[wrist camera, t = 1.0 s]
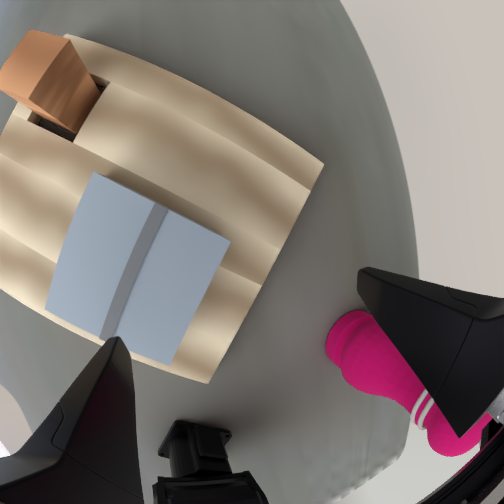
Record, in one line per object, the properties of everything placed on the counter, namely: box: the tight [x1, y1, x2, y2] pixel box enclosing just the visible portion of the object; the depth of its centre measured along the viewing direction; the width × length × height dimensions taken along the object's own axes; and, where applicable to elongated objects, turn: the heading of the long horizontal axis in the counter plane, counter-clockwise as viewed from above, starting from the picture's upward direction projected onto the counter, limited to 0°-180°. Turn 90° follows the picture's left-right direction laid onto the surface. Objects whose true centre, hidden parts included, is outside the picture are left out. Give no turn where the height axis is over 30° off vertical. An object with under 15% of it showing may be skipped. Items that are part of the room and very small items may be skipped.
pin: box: [0, 30, 102, 134], centre depth 11 cm, size 4×4×9 cm
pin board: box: [0, 34, 324, 384], centre depth 17 cm, size 20×24×2 cm
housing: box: [45, 172, 231, 366], centre depth 16 cm, size 9×9×3 cm
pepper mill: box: [326, 310, 492, 457], centre depth 18 cm, size 7×7×20 cm
